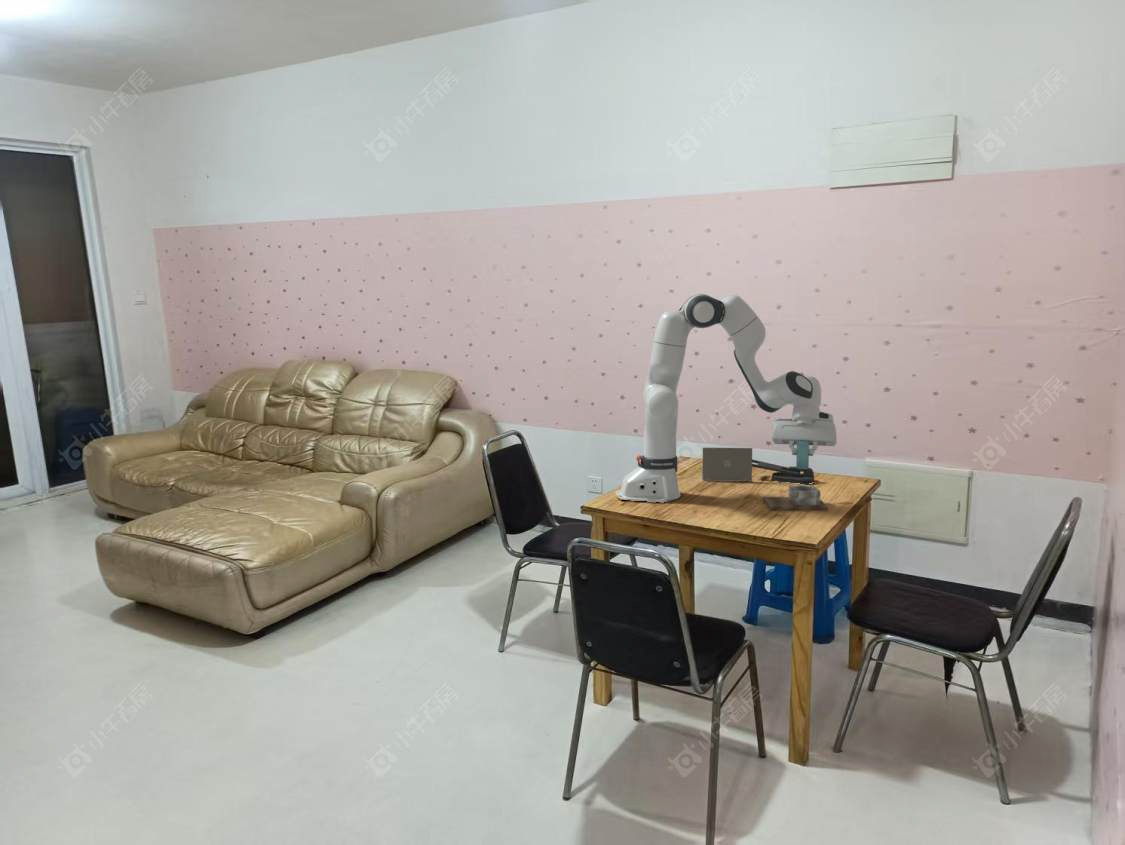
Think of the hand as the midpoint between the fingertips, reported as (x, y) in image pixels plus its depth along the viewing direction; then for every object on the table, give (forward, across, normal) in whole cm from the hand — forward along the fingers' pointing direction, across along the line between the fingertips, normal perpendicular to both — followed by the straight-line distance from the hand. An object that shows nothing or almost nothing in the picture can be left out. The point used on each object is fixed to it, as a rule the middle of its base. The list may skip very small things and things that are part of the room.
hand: (802, 454), depth 247 cm
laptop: (-10, -30, +34) cm, 47 cm away
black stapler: (-11, -11, +36) cm, 39 cm away
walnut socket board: (+12, -2, +12) cm, 17 cm away
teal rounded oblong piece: (+3, 0, +4) cm, 5 cm away
